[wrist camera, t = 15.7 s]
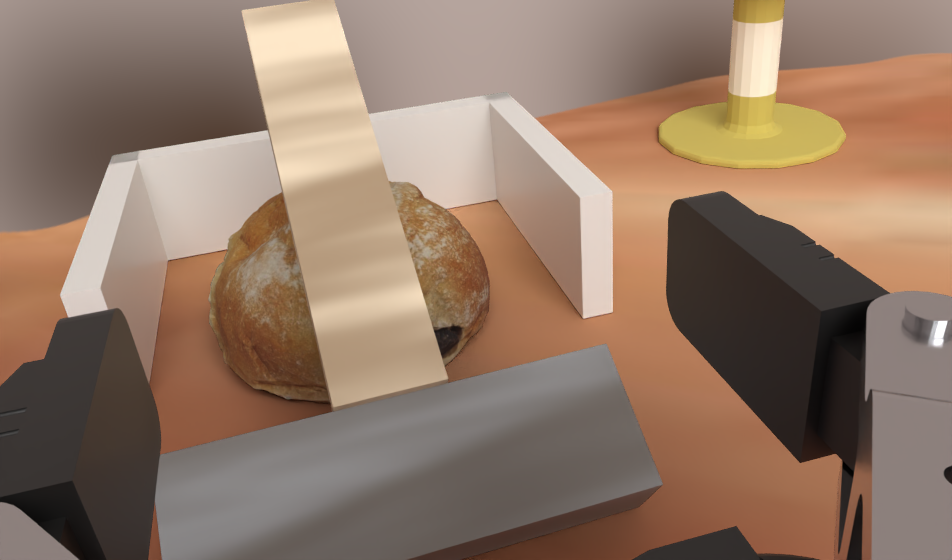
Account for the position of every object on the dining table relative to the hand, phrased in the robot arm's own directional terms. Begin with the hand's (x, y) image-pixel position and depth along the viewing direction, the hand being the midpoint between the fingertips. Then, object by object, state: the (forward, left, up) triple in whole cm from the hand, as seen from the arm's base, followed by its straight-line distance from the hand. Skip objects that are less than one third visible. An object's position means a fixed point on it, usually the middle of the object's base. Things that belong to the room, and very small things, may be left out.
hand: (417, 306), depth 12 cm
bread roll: (-9, +15, -11) cm, 21 cm away
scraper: (-2, +4, -10) cm, 11 cm away
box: (-10, +18, -11) cm, 23 cm away
